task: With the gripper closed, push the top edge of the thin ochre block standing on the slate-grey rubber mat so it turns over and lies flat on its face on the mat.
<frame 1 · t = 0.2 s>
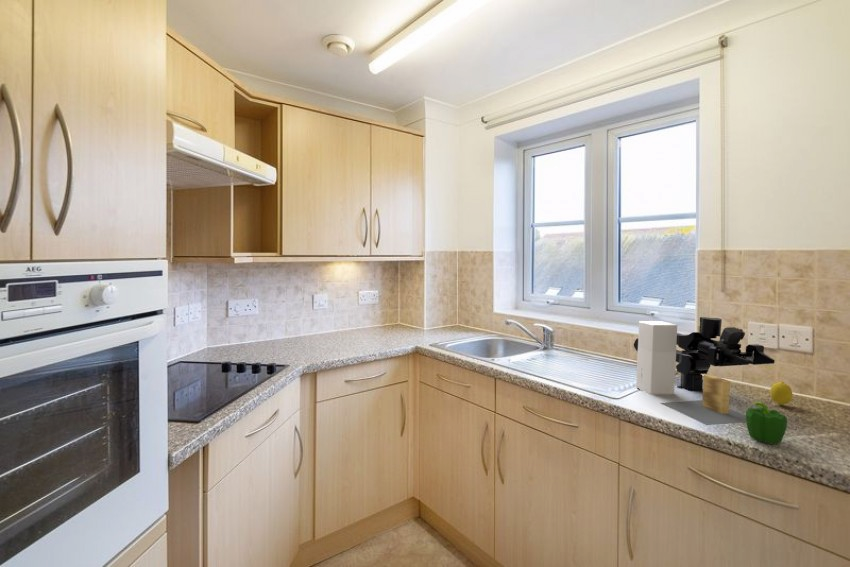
hand: (761, 362, 125), 17 cm above the worktop, tool horizontal, fingers open, 9 cm apart
lemon: (780, 406, 135), on the worktop
rubber mat: (706, 413, 127), on the worktop
tall white carton: (654, 392, 148), on the worktop
ochre block: (715, 409, 129), point 1 cm above the worktop, touching rubber mat
bell pepper: (764, 441, 109), on the worktop
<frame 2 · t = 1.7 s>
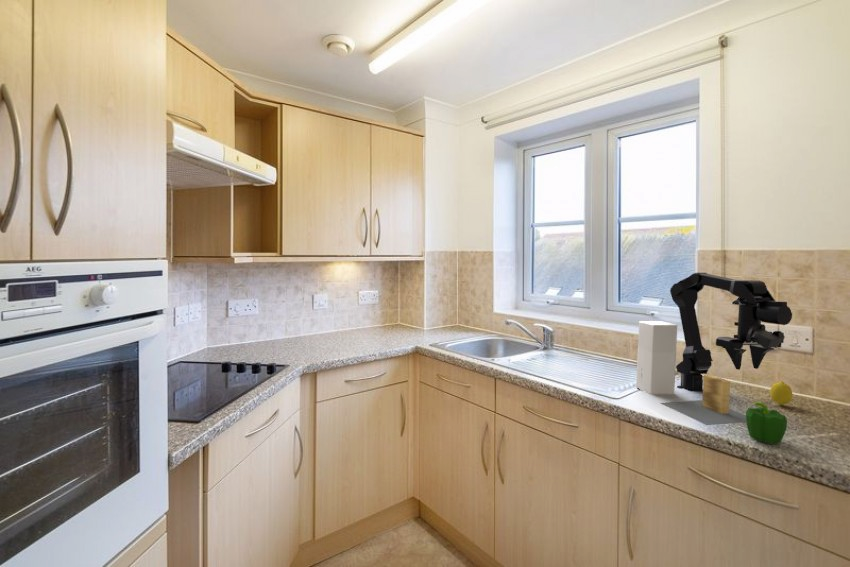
hand: (746, 369, 130), 13 cm above the worktop, tool pointing down, fingers open, 6 cm apart
nothing on the worktop moved.
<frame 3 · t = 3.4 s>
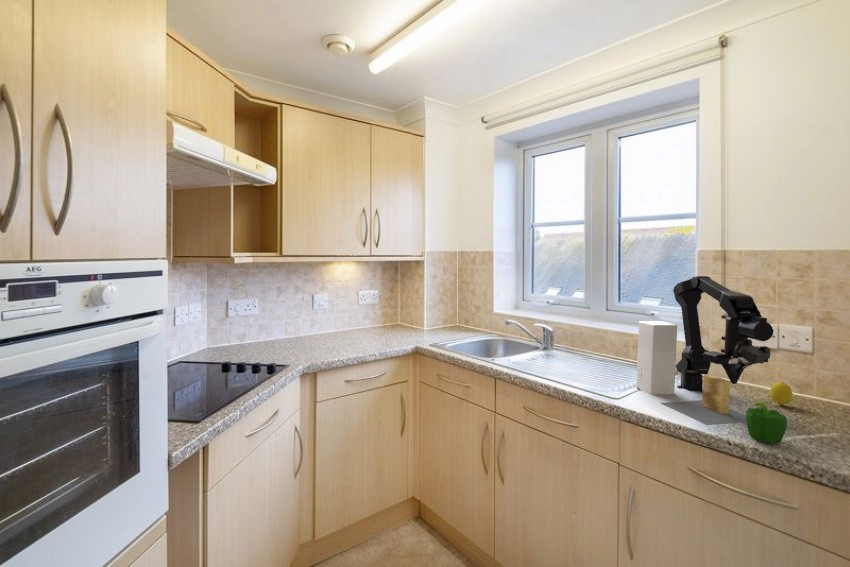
hand: (733, 383, 130), 9 cm above the worktop, tool pointing down, fingers closed
nothing on the worktop moved.
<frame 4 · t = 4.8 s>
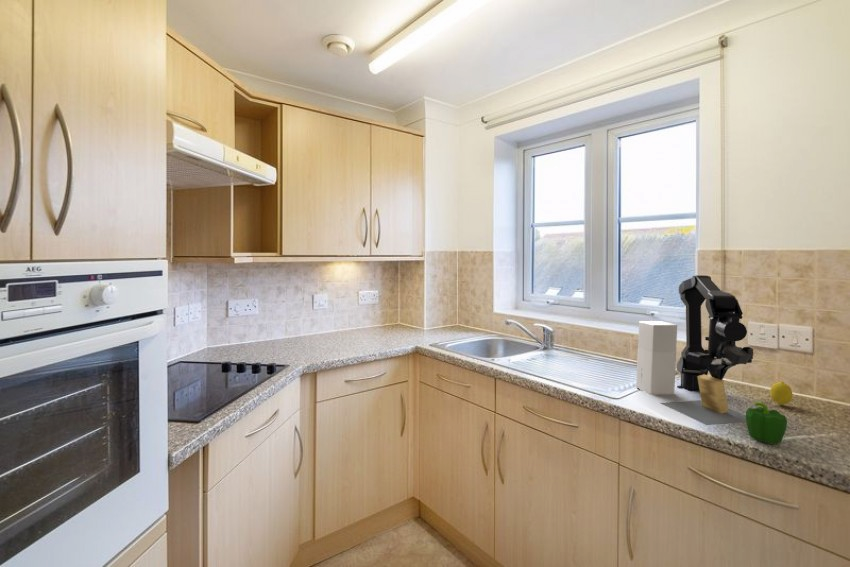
hand: (717, 384, 129), 9 cm above the worktop, tool pointing down, fingers closed
ochre block: (715, 408, 129), point 1 cm above the worktop, tilted 14°, touching gripper, rubber mat
everything else where it was.
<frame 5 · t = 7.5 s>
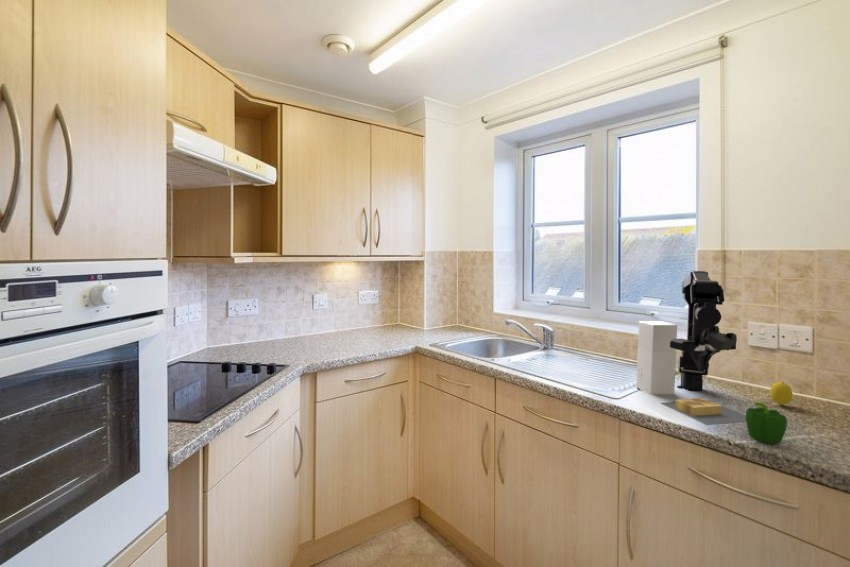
hand: (701, 371, 128), 13 cm above the worktop, tool pointing down, fingers closed
ochre block: (711, 405, 129), point 2 cm above the worktop, tilted 90°, touching rubber mat
everything else where it was.
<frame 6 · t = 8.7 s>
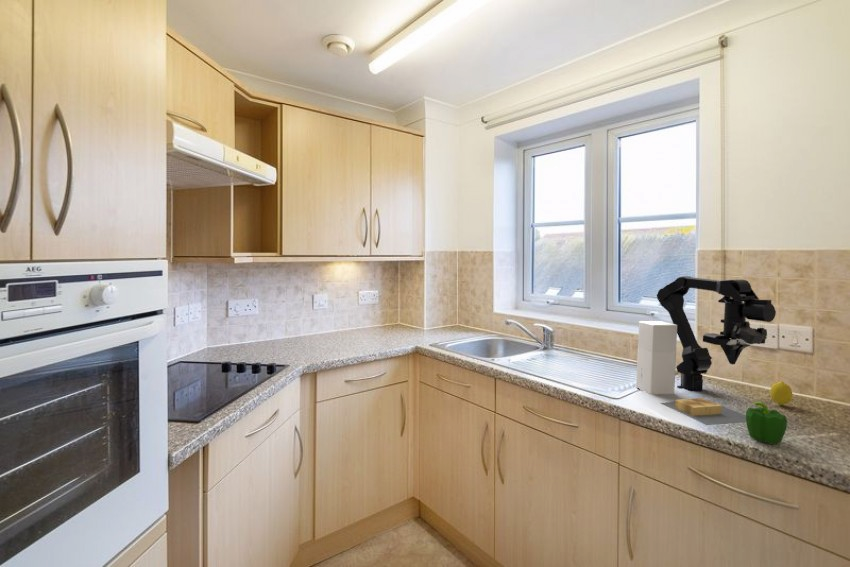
hand: (732, 364, 136), 13 cm above the worktop, tool pointing down, fingers closed
nothing on the worktop moved.
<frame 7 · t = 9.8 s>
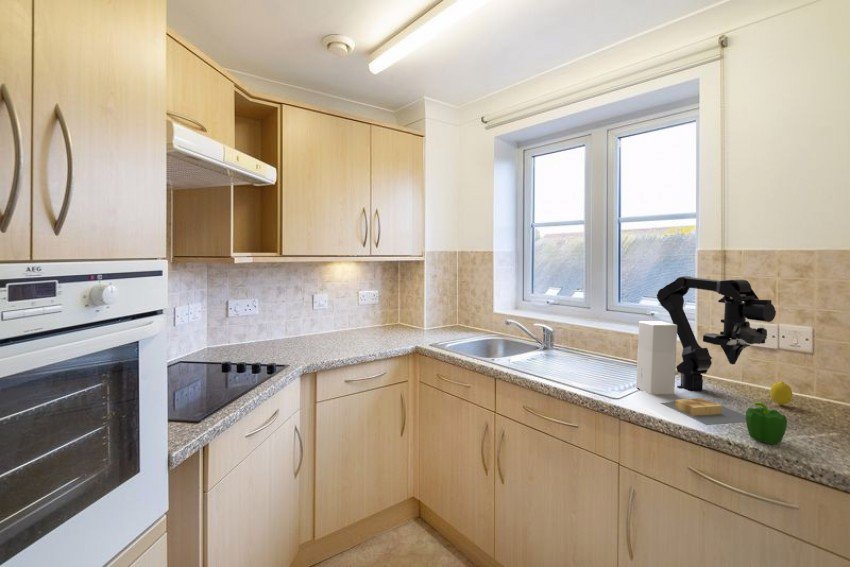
hand: (732, 364, 136), 13 cm above the worktop, tool pointing down, fingers closed
nothing on the worktop moved.
at the end: ochre block tilted 90°; ochre block inside the target area (2.8 cm from its centre), point 1.8 cm above the worktop; the gripper is holding nothing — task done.
